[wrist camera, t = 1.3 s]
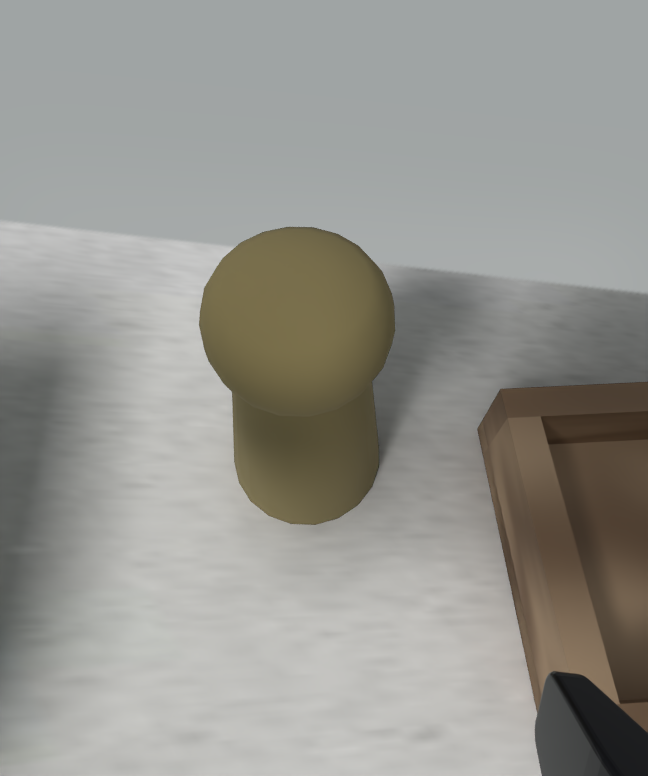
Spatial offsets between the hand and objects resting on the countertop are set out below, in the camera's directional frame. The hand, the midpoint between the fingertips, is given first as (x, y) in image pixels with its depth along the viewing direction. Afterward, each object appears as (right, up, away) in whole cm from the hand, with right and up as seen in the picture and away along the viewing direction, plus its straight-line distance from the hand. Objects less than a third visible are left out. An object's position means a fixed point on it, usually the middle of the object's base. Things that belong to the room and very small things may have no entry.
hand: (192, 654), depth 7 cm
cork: (+1, +1, +16) cm, 16 cm away
